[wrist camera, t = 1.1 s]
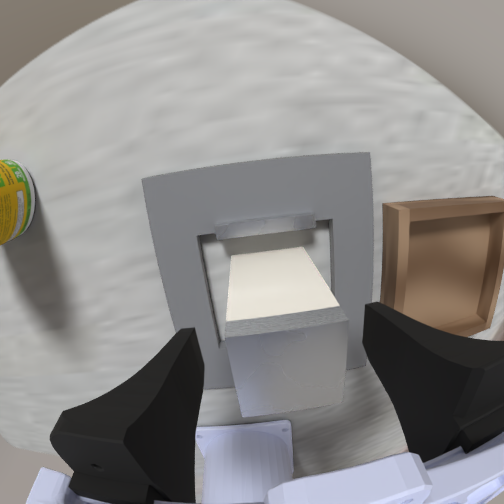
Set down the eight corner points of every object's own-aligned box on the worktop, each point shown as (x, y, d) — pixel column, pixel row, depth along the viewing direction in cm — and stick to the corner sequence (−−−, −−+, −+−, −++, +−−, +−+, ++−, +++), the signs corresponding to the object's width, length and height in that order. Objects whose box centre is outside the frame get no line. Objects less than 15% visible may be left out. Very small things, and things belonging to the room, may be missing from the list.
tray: (476, 316, 19) (489, 327, 17) (375, 345, 19) (386, 362, 17) (492, 196, 16) (510, 201, 14) (382, 203, 16) (398, 210, 14)
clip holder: (362, 359, 20) (368, 372, 18) (194, 382, 20) (192, 396, 18) (364, 152, 15) (375, 152, 14) (146, 177, 15) (136, 180, 14)
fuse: (306, 308, 18) (342, 402, 10) (241, 317, 18) (242, 417, 10) (302, 246, 17) (348, 320, 9) (231, 255, 17) (224, 337, 9)
